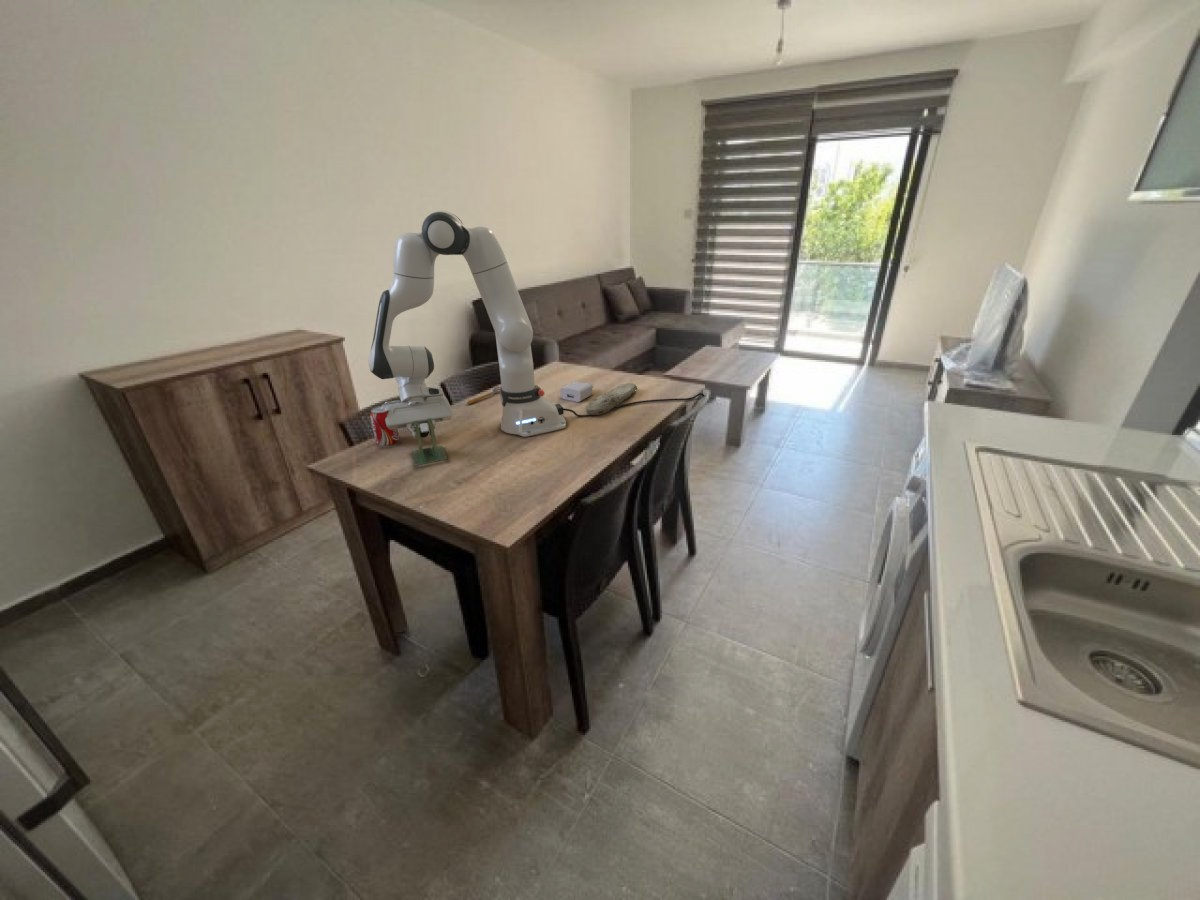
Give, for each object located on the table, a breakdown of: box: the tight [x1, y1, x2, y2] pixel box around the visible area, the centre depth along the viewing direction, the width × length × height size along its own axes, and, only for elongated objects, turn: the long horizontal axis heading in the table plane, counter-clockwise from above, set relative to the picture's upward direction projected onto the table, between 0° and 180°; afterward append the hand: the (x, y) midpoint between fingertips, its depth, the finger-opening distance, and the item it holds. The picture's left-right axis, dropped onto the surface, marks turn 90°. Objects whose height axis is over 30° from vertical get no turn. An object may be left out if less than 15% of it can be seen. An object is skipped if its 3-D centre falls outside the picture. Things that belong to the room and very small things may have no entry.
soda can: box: [369, 405, 400, 447], centre depth 151 cm, size 7×7×12 cm
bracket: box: [411, 418, 448, 466], centre depth 142 cm, size 10×9×12 cm
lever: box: [418, 423, 430, 439], centre depth 146 cm, size 14×4×4 cm, turn 25°
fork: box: [466, 386, 501, 406], centre depth 192 cm, size 2×2×20 cm
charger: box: [560, 381, 594, 403], centre depth 194 cm, size 5×9×15 cm
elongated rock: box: [585, 382, 638, 416], centre depth 186 cm, size 35×5×10 cm
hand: (424, 436), depth 150 cm, fingers closed on lever, 3 cm apart
